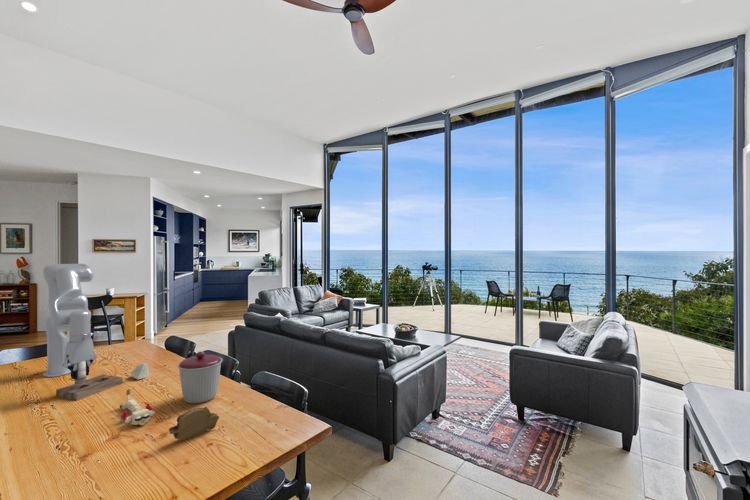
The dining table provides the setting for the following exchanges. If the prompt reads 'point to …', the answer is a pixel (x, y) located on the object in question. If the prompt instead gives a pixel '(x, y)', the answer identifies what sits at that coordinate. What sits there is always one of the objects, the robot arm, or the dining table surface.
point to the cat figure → (135, 411)
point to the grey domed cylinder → (81, 373)
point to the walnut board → (89, 387)
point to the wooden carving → (194, 423)
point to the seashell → (140, 372)
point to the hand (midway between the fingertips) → (80, 376)
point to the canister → (200, 377)
